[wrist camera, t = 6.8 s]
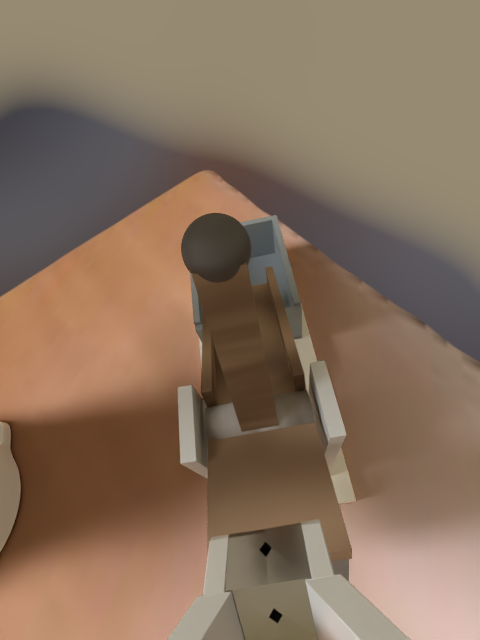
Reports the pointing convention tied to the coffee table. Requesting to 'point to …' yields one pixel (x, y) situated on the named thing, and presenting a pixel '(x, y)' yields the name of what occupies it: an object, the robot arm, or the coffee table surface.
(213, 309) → the lever
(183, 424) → the catapult stand
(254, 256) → the cup
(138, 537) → the coffee table surface
